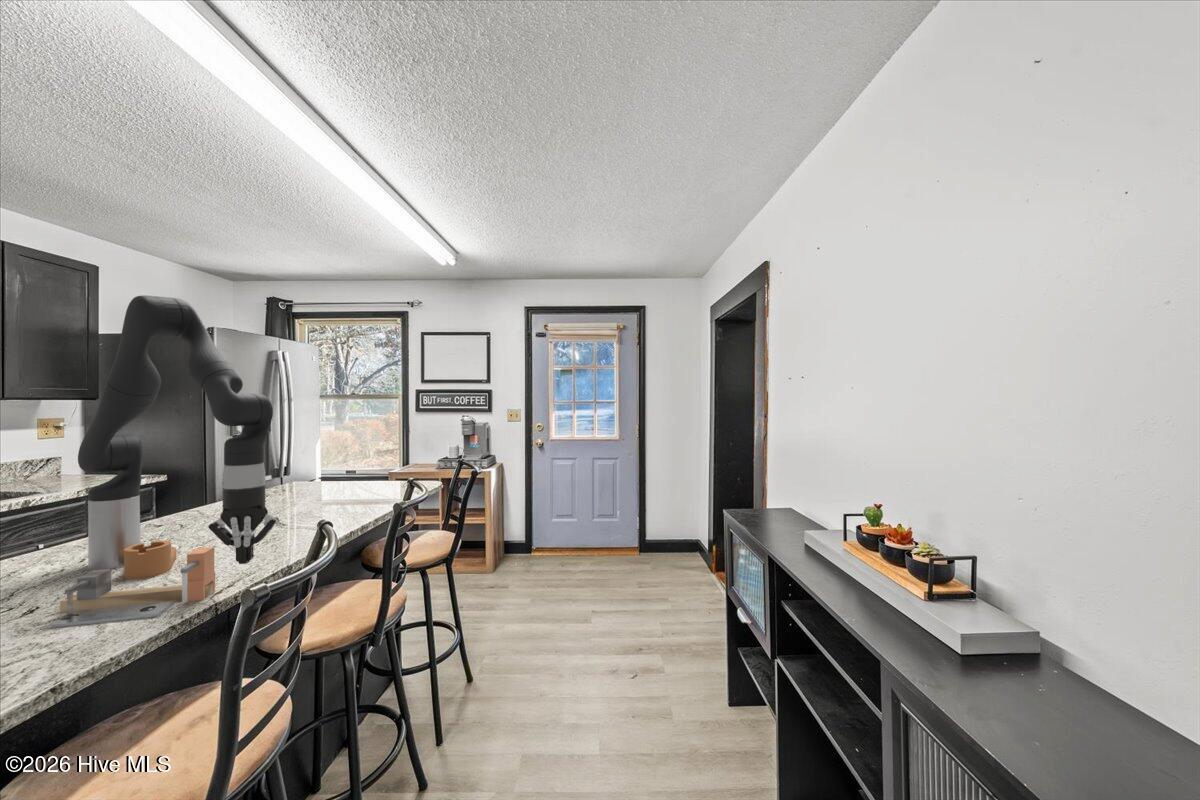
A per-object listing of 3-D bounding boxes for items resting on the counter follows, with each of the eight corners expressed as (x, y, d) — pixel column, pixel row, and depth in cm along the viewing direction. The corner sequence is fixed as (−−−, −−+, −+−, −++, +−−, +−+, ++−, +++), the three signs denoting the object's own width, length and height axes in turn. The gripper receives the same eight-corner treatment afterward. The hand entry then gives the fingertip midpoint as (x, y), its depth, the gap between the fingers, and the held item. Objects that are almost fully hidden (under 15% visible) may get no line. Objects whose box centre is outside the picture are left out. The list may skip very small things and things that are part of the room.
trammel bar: (74, 605, 97) (74, 571, 97) (214, 591, 104) (214, 560, 104) (37, 626, 88) (37, 589, 88) (192, 609, 95) (192, 575, 95)
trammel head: (198, 591, 104) (198, 547, 104) (215, 590, 105) (215, 546, 104) (174, 610, 95) (174, 561, 95) (192, 608, 95) (192, 560, 95)
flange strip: (73, 616, 93) (73, 610, 93) (174, 605, 97) (174, 600, 97) (48, 630, 87) (48, 624, 87) (157, 618, 92) (157, 613, 92)
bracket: (168, 575, 114) (168, 547, 114) (120, 583, 109) (120, 553, 109) (178, 555, 129) (178, 529, 129) (136, 561, 124) (136, 535, 124)
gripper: (284, 479, 109) (285, 554, 110) (216, 482, 105) (216, 560, 106) (273, 485, 102) (273, 565, 102) (199, 489, 98) (199, 572, 98)
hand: (244, 562), depth 104 cm, fingers closed
